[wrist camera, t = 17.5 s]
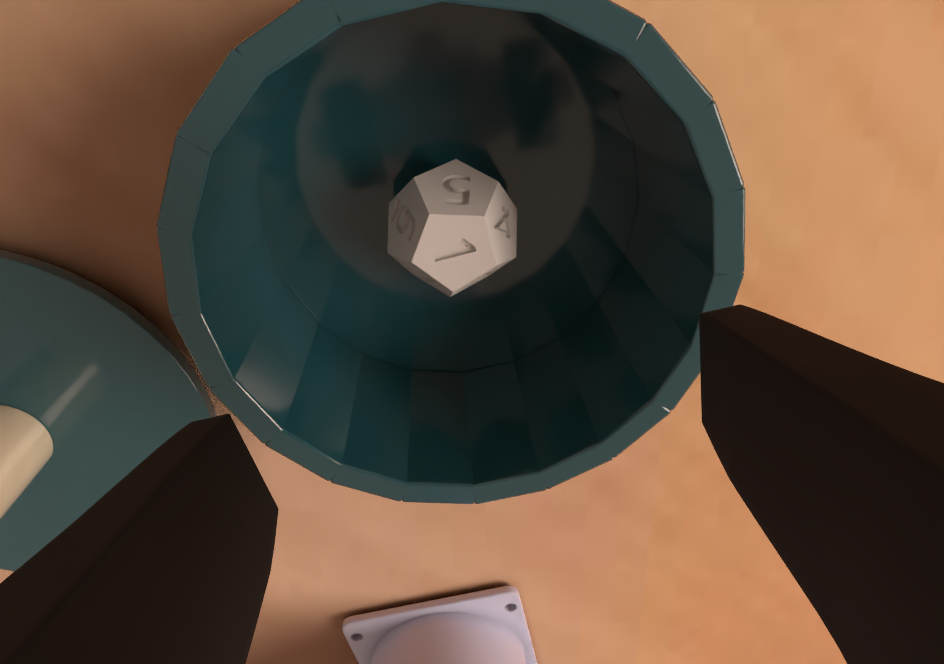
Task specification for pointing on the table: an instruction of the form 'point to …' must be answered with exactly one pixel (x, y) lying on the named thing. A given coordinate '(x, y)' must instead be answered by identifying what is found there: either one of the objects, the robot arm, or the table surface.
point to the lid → (77, 399)
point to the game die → (452, 227)
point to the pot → (413, 300)
